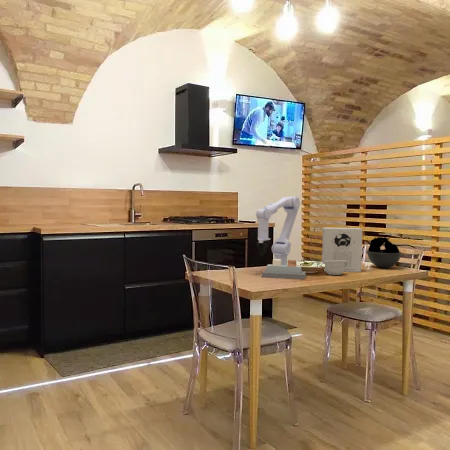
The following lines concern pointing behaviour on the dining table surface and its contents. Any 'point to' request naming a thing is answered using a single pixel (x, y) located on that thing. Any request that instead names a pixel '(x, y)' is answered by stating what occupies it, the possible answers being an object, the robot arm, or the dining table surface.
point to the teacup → (335, 266)
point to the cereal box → (343, 247)
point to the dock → (284, 275)
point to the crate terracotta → (292, 263)
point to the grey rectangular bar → (284, 269)
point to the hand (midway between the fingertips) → (262, 254)
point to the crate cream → (277, 262)
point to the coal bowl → (383, 252)
